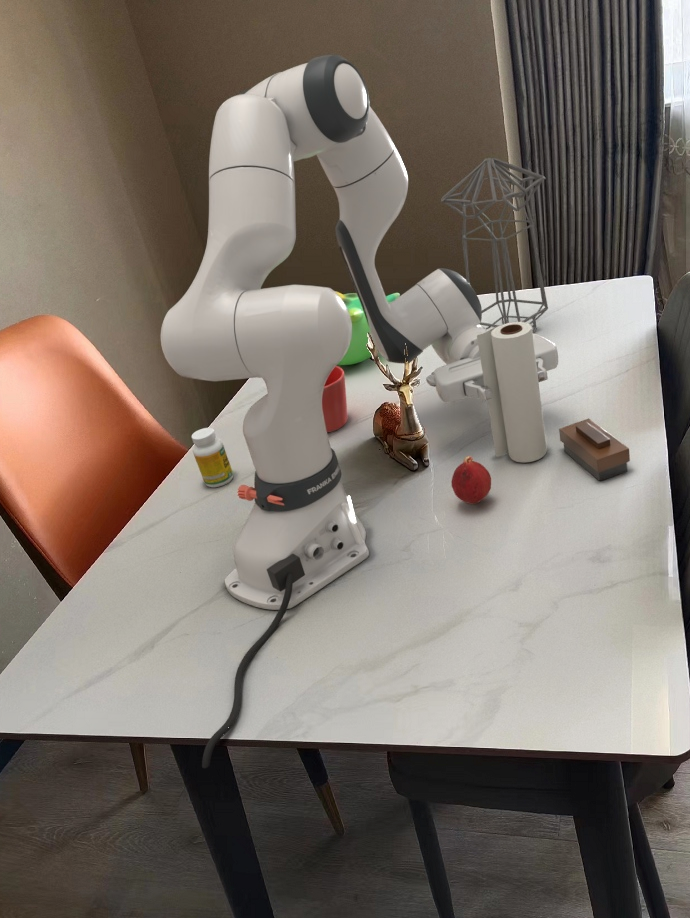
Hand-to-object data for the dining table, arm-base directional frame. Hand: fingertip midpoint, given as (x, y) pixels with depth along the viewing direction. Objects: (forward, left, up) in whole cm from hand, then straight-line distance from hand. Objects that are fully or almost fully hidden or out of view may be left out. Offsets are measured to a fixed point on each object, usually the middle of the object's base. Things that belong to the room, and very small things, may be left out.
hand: (515, 386), depth 132 cm
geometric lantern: (+42, +28, -12) cm, 52 cm away
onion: (-15, 0, -12) cm, 20 cm away
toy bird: (+24, +56, -12) cm, 62 cm away
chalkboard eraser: (+1, -12, -12) cm, 17 cm away
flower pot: (-2, +42, -12) cm, 44 cm away
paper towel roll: (0, 0, -12) cm, 12 cm away
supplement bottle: (-25, +48, -12) cm, 55 cm away
